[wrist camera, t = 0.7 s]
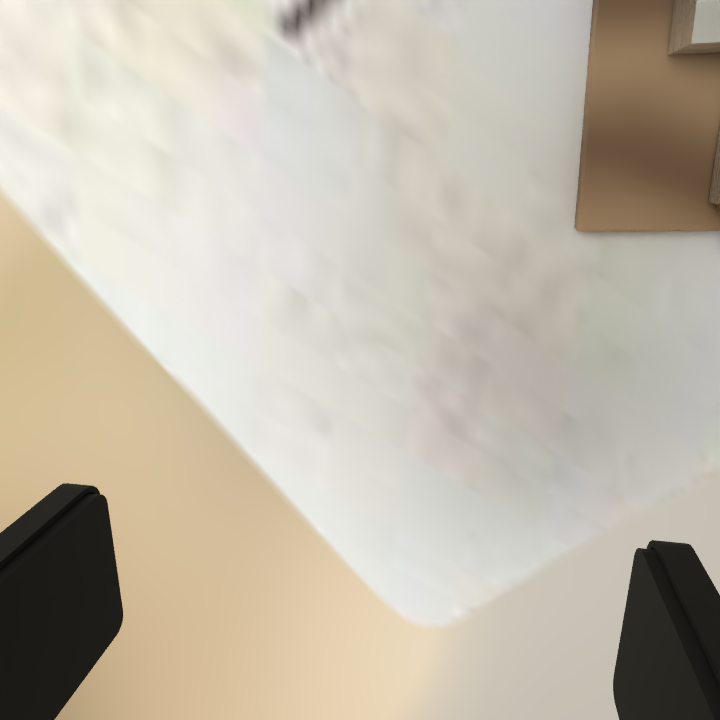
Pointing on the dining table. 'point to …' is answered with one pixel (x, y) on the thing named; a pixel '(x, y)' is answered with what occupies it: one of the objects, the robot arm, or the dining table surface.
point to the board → (646, 125)
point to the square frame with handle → (698, 50)
